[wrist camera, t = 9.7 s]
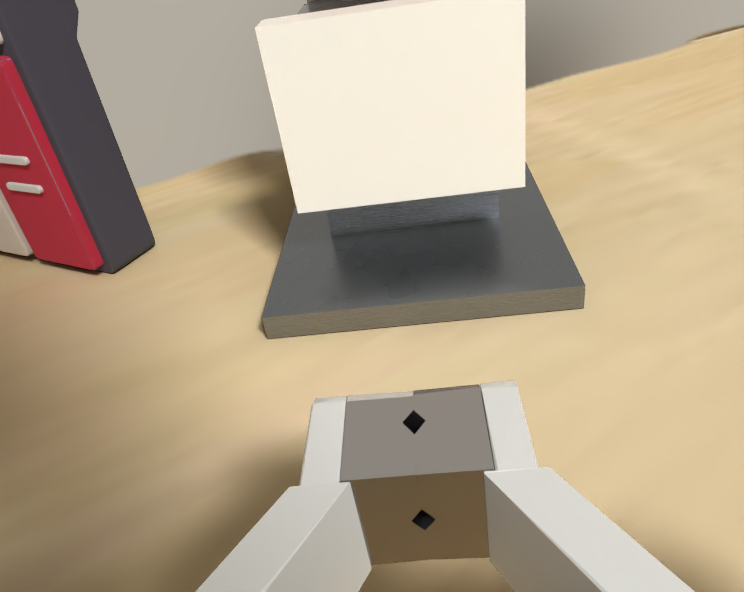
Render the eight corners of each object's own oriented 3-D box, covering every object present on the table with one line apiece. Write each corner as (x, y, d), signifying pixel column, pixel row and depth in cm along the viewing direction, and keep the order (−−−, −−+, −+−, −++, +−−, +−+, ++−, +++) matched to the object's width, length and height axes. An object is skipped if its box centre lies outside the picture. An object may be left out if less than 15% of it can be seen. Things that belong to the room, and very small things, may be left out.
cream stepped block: (297, 213, 24) (255, 28, 21) (316, 146, 31) (286, -6, 27) (525, 186, 24) (525, -13, 20) (497, 123, 30) (493, -38, 26)
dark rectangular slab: (-27, 255, 34) (-204, -47, 26) (37, 219, 37) (-103, -61, 29) (104, 284, 29) (-63, -79, 21) (167, 241, 32) (42, -92, 24)
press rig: (267, 338, 24) (69, -318, 13) (313, 168, 38) (234, -216, 27) (583, 308, 22) (632, -439, 12) (509, 144, 36) (502, -267, 26)
